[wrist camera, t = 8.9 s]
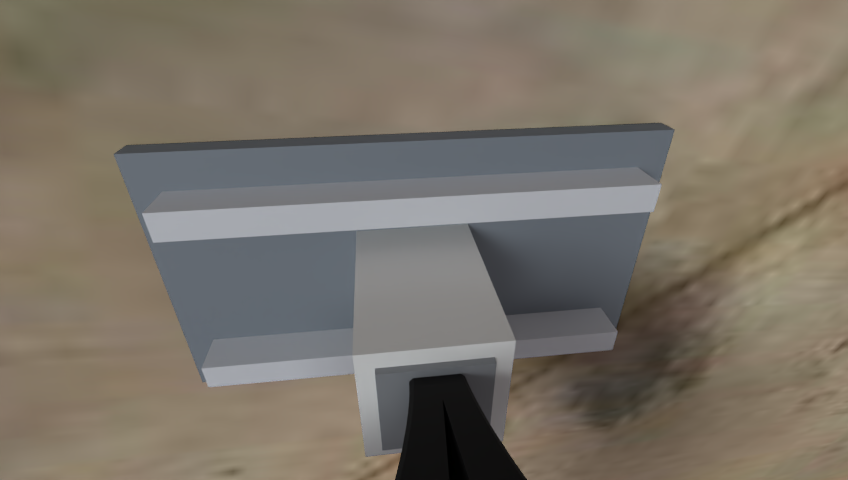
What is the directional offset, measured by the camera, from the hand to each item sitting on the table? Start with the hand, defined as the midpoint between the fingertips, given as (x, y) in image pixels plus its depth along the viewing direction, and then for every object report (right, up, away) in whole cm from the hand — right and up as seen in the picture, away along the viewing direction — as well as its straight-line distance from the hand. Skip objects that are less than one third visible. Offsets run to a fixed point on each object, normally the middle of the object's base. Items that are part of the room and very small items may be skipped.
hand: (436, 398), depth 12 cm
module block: (-1, +3, +5) cm, 6 cm away
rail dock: (-1, +3, +6) cm, 7 cm away
